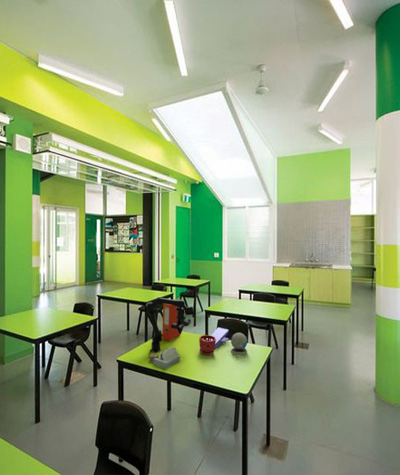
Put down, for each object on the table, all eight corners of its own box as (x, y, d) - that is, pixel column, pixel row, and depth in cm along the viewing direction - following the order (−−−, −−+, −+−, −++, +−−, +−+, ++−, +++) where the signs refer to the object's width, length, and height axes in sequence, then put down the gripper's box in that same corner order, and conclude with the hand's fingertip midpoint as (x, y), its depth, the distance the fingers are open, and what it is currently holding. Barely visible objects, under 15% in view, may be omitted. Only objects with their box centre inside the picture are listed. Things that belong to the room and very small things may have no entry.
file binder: (180, 335, 254) (181, 301, 254) (169, 341, 239) (170, 305, 239) (173, 333, 258) (174, 300, 258) (162, 339, 243) (163, 303, 243)
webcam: (236, 347, 230) (237, 329, 230) (250, 351, 221) (250, 333, 221) (227, 351, 220) (228, 333, 220) (241, 356, 212) (241, 337, 212)
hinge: (166, 366, 192) (162, 352, 194) (161, 367, 194) (158, 352, 196) (180, 358, 206) (176, 344, 208) (175, 358, 208) (172, 345, 210)
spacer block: (149, 361, 199) (149, 356, 199) (152, 358, 204) (152, 353, 204) (155, 362, 198) (155, 357, 198) (158, 359, 203) (158, 354, 203)
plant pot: (196, 354, 213) (197, 339, 213) (202, 348, 225) (202, 333, 226) (212, 357, 209) (213, 341, 209) (217, 350, 221) (217, 336, 221)
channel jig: (153, 364, 195) (153, 358, 195) (167, 356, 208) (168, 351, 208) (166, 368, 188) (166, 363, 188) (179, 360, 202) (179, 355, 202)
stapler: (229, 340, 247) (229, 329, 247) (214, 350, 223) (214, 338, 223) (218, 337, 253) (218, 326, 253) (202, 347, 229) (202, 335, 229)
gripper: (181, 319, 211) (181, 339, 211) (195, 314, 227) (194, 333, 227) (170, 317, 217) (170, 336, 217) (184, 312, 233) (183, 330, 233)
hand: (180, 334), depth 223 cm, fingers closed
